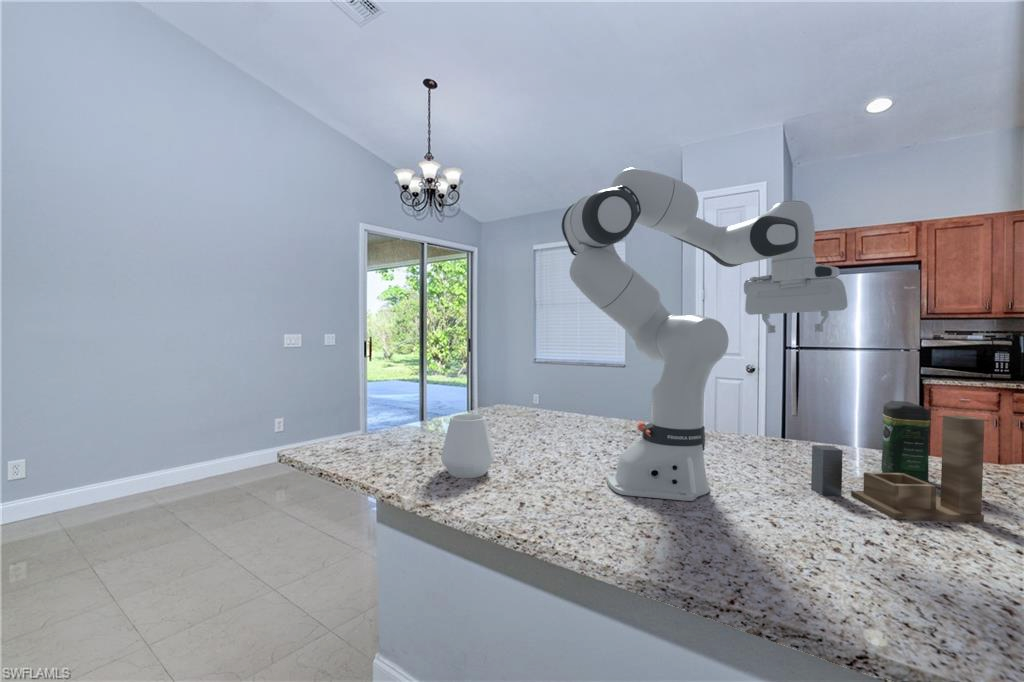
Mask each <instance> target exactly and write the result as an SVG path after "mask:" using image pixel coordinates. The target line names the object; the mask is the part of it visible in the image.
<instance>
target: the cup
mask: <svg viewBox="0 0 1024 682" xmlns="http://www.w3.org/2000/svg"><path fill="white" fill-rule="evenodd" d="M492 442H493V441H492V439H491V435H490V431H489V427H488V422H487V419H486V416H484V415H482V414H477V413H461V414H455V415H451V416H450V418H449V423H448V427H447V430H446V434H445V438H444V444H443V446H442V450H441V456H440V457H441V463H442V464H443V466H444V468H445V469H446V470H447V472H448V474H449V475H450V476H452V477H454V478H459V479H475V478H480V477H483V476H484V475H486V474H487V472H488V471H489V469H490V467H491V466H492V464H493V462H494V460H495V458H496V457H495V451H494V447H493V443H492Z"/></svg>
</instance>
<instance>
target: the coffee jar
mask: <svg viewBox="0 0 1024 682" xmlns="http://www.w3.org/2000/svg"><path fill="white" fill-rule="evenodd" d="M882 421H883V422H882V423H883V428H882V429H883V432H882V447H881V448H882V451H881V466H880V467H881V473H904V474H907V475H909V476H912V477H914V478H917V479H919V480H922V481H925V482H927V483H929V475H930V474H929V472H930V471H929V467H930V465H929V461H930V460H929V457H930V455H929V454H930V453H929V452H930V451H929V448H930V447H929V446H930V427H931V413H930V410H929V409H927V408H926V407H924V406H922V405H919V404H915V403H912V402H910V401H904V400H903V401H902V400H900V401H899V400H891V401H889V402H887V403H885V404H884V405H883V410H882Z"/></svg>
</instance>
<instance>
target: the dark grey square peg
mask: <svg viewBox="0 0 1024 682" xmlns="http://www.w3.org/2000/svg"><path fill="white" fill-rule="evenodd" d="M843 453H844V452H843V449H841V448H838V447H835V446H833V445H830V444H829V445H828V444H827V445H826V444H825V445H822V444H812V445H811V473H810V474H811V475H810V476H811V478H810V479H811V485H810V490H812V489H813V490H814V492H815V491H816V493H817V494H818V495H820V494H821V495H820V496H822V495H824V496H825V497H826V496H829V497H842V496H843V495H842V490H843V488H842V486H843V485H842V484H843ZM813 490H812V491H813Z"/></svg>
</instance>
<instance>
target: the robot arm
mask: <svg viewBox="0 0 1024 682" xmlns="http://www.w3.org/2000/svg"><path fill="white" fill-rule="evenodd" d="M699 204H700V203H699V196H698V195H697V191H696V189H695V188H694V187H692V186H691V185H690V184H687V183H686V182H684V181H682V180H680V179H678V178H675V177H672V176H669V175H667V174H663V173H660V172H656V171H652V170H649V169H643V168H635V167H629V168H626V169H624V170H622V171H620V173H617V175H616V177H615V178H614V179H613V181H612V184H610V187H609V188H605V189H601V190H599V191H596V192H595V193H592V194H589V195H586V196H583V197H582V198H580V199H579V200H578V201H576V202H575V203H573V204H572V205H570V206H569V207H568V208H567V210H566V211H565V213H564V214H563V216H562V219H561V231H562V235H563V237H564V239H565V241H566V244H567V245H568V248H569V251H570V253H571V254H572V255H573V256H574V258H573V259H572V261H571V264H570V267H569V277H570V279H571V281H572V282H573V283H574V284H575V286H576V287H577V288H578V290H579V291H580V292H581V293H582V294H583V295H584V296H585V297H586V298H587V299H588V300H589V301H591V303H593V304H594V305H595V306H596V307H597V308H598V309H599V310H601V311H602V312H603V313H605V314H606V315H607V316H608V317H610V319H612V320H613V322H616V323H617V324H618V325H619V326H621V327H622V328H623V330H625V332H627V333H628V335H629V336H630V337H631V339H632V340H633V341H634V344H635V347H636V348H637V350H638V352H639V353H640V354H642V355H643V356H644V357H646V358H648V359H650V360H652V361H654V362H658V363H664V365H663V370H662V373H661V375H660V378H659V381H658V382H657V383H656V384H655V385H654V386H653V387H652V390H651V421H650V422H649V423H647V424H646V423H644V422H642V421H640V422H638V423H637V425H636V428H637V430H639V432H641V433H642V434H641V435H642V438H641V439H640V440H638V441H637V442H635V443H634V444H633V445H632V446H630V447H628V448H627V449H625V450H624V451H623V452H622V453H621V454H620V455H619V457H618V461H617V464H616V465H617V466H616V470H613V471H610V472H608V473H607V477H606V483H607V485H608V487H609V488H610V489H611V490H612V491H614V492H615V493H616V494H619V495H622V496H631V497H639V498H640V497H641V498H653V499H654V498H655V499H665V500H673V501H683V502H684V501H685V502H687V501H688V502H692V501H695V500H696V499H697V498H698V497H701V496H704V495H706V494H708V493H709V492H710V491H711V488H710V484H709V481H708V478H707V472H706V467H705V457H704V451H705V445H706V430H705V429H706V427H705V426H704V424H703V423H704V422H703V421H704V420H703V419H704V401H705V400H704V399H705V398H704V396H705V392H706V391H705V390H706V386H707V383H708V379H709V377H710V374H711V372H712V370H713V368H714V367H715V365H716V364H717V363H718V362H719V361H720V360H721V359H722V358H723V357H724V356H725V355H726V353H727V350H728V348H729V335H728V331H727V329H726V327H725V326H724V324H723V323H721V321H719V320H717V319H714V318H711V317H708V316H704V315H699V314H688V315H685V314H684V315H677V314H674V313H673V312H671V311H669V310H668V309H667V308H666V307H665V305H664V304H663V303H662V302H661V295H660V292H659V290H658V289H657V288H656V287H655V286H654V285H653V284H652V283H650V282H649V281H648V280H647V279H646V278H645V277H643V276H642V275H641V274H640V273H638V271H636V270H635V269H634V268H633V267H631V266H630V265H629V264H628V263H626V261H624V260H623V259H622V258H621V257H620V256H619V254H618V253H617V250H616V248H615V244H617V243H619V242H620V241H622V240H623V239H624V238H626V237H627V236H628V235H629V234H630V232H631V231H632V229H633V227H634V225H635V223H636V224H639V225H641V226H644V227H646V228H650V229H653V230H655V231H659V232H661V233H664V234H667V235H669V236H670V237H672V238H674V239H676V240H679V241H680V242H682V243H683V242H684V243H685V244H688V245H690V246H692V247H694V248H697V249H699V250H701V251H703V252H705V253H707V254H708V255H709V256H710V257H711V258H712V259H713V260H714V261H715V262H716V263H718V264H719V265H721V266H723V267H726V268H734V267H738V266H740V265H741V266H742V265H743V264H748V263H753V262H758V261H762V260H767V259H770V274H769V275H761V276H751V277H750V278H748V279H746V280H745V281H744V284H743V292H744V295H745V308H744V309H745V310H744V311H745V313H746V314H747V315H749V316H750V315H752V316H753V315H761V319H762V321H763V322H764V324H765V325H766V326H767V334H775V333H776V325H775V324H774V325H773V324H772V323H771V322H770V321H769V319H770V317H771V316H770V315H772V314H792V313H793V314H794V313H795V314H797V313H813V312H814V313H815V312H820V317H822V319H821V320H820V321H819V323H815V324H814V327H815V329H814V333H821V332H823V333H824V323H825V322H826V321H827V319H828V318H829V312H835V311H837V312H838V311H845V310H846V309H847V308H848V298H847V295H848V294H847V291H846V287H845V283H844V282H843V281H842V280H841V279H840V278H839V276H840V271H841V270H840V268H839V267H838V266H837V267H836V266H831V265H826V264H823V263H822V264H818V263H817V261H816V254H815V252H814V244H815V240H816V236H815V235H816V231H815V229H816V228H815V221H814V220H815V219H814V214H813V211H812V207H811V206H810V204H808V203H807V202H805V201H802V200H801V201H800V200H788V201H787V200H786V201H785V200H784V201H781V202H778V203H776V204H774V205H773V207H772V208H771V209H770V210H768V211H766V212H765V213H763V214H761V215H759V216H756V217H754V218H751V219H748V220H746V221H742V222H739V223H736V224H732V225H728V226H718V225H715V224H713V223H710V222H708V221H705V220H704V219H702V218H699V217H697V215H698V211H699V210H698V209H699Z"/></svg>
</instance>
